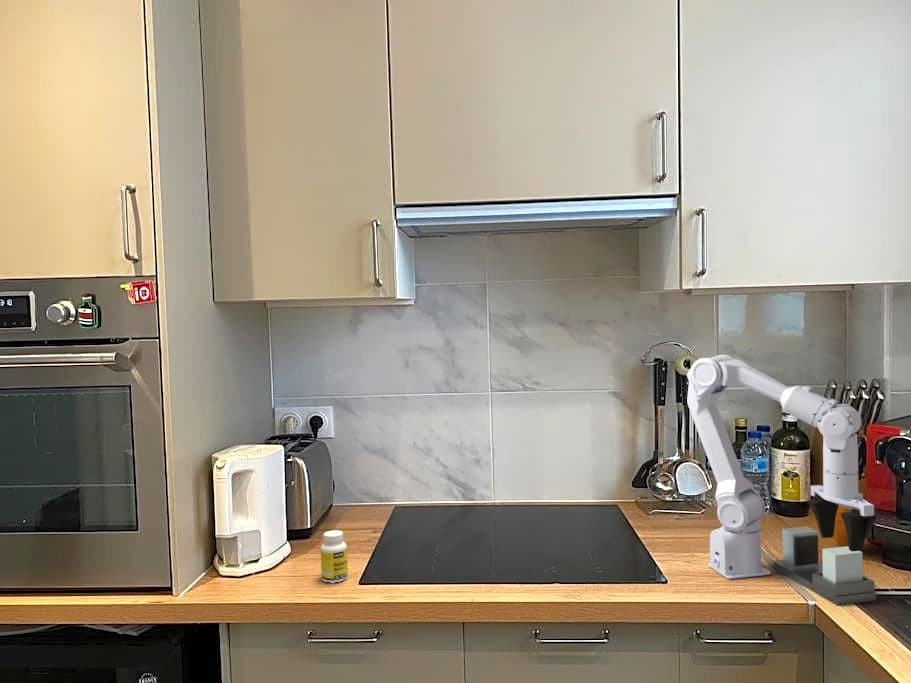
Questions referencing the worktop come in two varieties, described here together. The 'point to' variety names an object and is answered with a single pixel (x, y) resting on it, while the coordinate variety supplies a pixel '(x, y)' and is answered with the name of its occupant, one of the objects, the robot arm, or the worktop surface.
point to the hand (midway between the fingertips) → (841, 543)
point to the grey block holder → (817, 569)
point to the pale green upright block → (842, 565)
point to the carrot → (840, 528)
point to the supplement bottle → (334, 557)
